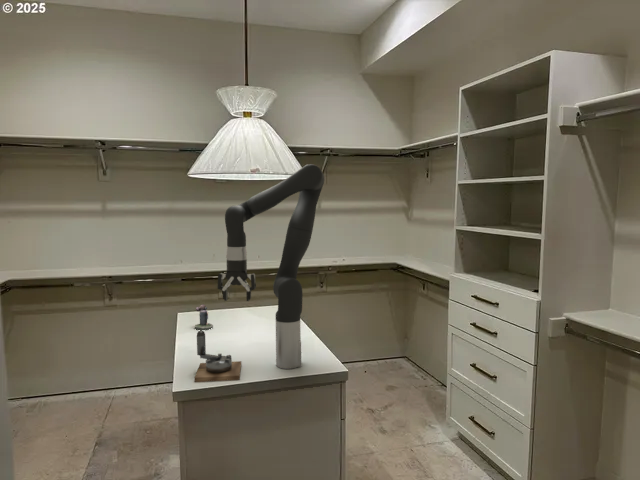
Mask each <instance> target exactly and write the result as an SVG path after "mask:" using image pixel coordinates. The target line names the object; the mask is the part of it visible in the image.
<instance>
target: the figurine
mask: <svg viewBox="0 0 640 480" xmlns="http://www.w3.org/2000/svg"><path fill="white" fill-rule="evenodd" d="M195 311H196V312H199V323H197V324H195V325H194V330H195V329H196V330H195V331H198V330H205V331H210V330H212V329H214V325H213V324H212V323H210V322H208V320H209V312H208V307H207V306H206V305H205V304H201V305H199V306H196V308H195ZM211 328H212V329H211ZM209 329H210V330H209Z"/></svg>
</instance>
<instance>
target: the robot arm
mask: <svg viewBox="0 0 640 480" xmlns="http://www.w3.org/2000/svg"><path fill="white" fill-rule="evenodd" d="M324 184H325V174H324V173H323V171H322V169H321V168H320V167H319V166H318V165H316V164H312V163H309V164H305V165H304V166H302V167H301V168H300V169H298V170H297V171H295V172H294V173H292V174H291V175H290V176H289V177H287V178H285V179H283V180H282V181H280V182H278V183H277V184H275V185H272V186H271V187H269V188H267V189H265V190H263V191H260V192H258V193H257V194H255V195H253V196H251V197H249V198H248V200H246V201H244V202H242V203H240V204H237V205H230V206H229V207H228V208H227V209H226V211H225V214H224V221H225V230H226V234H227V235H226V236H227V237H226V245H227V246H226V257H225V258H226V273H223V272H221V273H219V274H218V275H217V290H221V291H222V300H224V302H226V301H228V299H229V298H228V295H229V294H228V293H229V291H228V288H229V287H230V286H242V287H244V289H245V290H246V302H249V301H250V300H251V299H252V291H254V290H255V289H257V283H256V280H257V279H256V274H255V273H254V272H253V273H249V274H248V272H247V271H248V269H247V266H248V265H247V264H248V263H247V262H248V259H247V258H248V257H247V255H248V254H247V253H248V252H247V235H246V232H245V231H244V229H245V228H244V223H246V222H247V221H249V220H250V219H253V218H254V217H256V216H258V215H261V214H263V213H265V212H267V211H268V210H271V209H273V208H274V207H276V206H277V205H279V204H280V203H282V202H283V201H284V200H286V199H287V198H289V197H290V196H292V195H295V194H297V193H299V195H298V200H297V203H296V206H295V208H294V210H293V213H292V215H291V217H290V219H289V223H288V226H287V230H286V234H285V241H284V244H283V249H282V255H281V261H280V264H279V267H278V269H277V273H276V275H275V278H274V281H273V285H272V288H273V289H272V291H273V293H274V295H275V296H276V298H277V299H278V300H277V305H278V306H277V311H276V312H275V366H276V367H277V368H279V369H286V370H287V369H289V370H290V369H291V370H292V369H295V368H300V367H302V340H301V337H302V336H301V335H302V333H301V314H302V312H303V286H302V284H301V282H300V281H299V280H298V279H297V278H298V277H297V276H298V271H299V266H300V264H301V261H302V259H303V257H304V256H305V254H306V252H307V251H308V248H309V246H310V243H311V239H312V234H313V231H314V225H315V219H316V218H315V217H316V211H317V205H318V202H319V198H320V195H321V192H322V190H323V186H324ZM224 279H226V280H227V282H226V283H225V285H223V282H224ZM247 279H249V280H250V284H249V283H248V282H247Z"/></svg>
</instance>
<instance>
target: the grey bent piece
mask: <svg viewBox="0 0 640 480" xmlns="http://www.w3.org/2000/svg"><path fill="white" fill-rule="evenodd" d="M206 346H207V345H206V333H205V331H202V330H200V331H198V330H197V333H196V354H197V356H199V358H200V359H203V360H204V359H205V363H206V371H208V372H210V373H222V372H226V371H229V370H230V369H231V368H232V362H233V358H232V355H231V354H227V355H222V353H218V354H217V355H216V354H215V355H214V354H210V353H207V350H206Z"/></svg>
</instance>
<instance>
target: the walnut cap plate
mask: <svg viewBox="0 0 640 480" xmlns="http://www.w3.org/2000/svg"><path fill="white" fill-rule="evenodd" d="M241 370H242V361H241V360H238V361H237V360H236V361H232V368H231V369H230V370H229V371H226V372H222V373H210V372H208V371H206V362H200V363H199V365H198V368H197V370H196V373H195V376H194V383H200V382H202V383H203V382H204V383H205V382H219V381H220V382H221V381H239V380H240V377H241Z"/></svg>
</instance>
